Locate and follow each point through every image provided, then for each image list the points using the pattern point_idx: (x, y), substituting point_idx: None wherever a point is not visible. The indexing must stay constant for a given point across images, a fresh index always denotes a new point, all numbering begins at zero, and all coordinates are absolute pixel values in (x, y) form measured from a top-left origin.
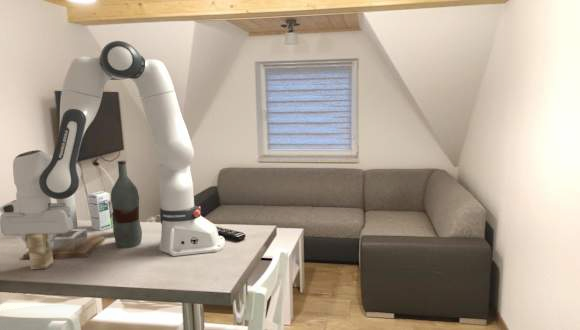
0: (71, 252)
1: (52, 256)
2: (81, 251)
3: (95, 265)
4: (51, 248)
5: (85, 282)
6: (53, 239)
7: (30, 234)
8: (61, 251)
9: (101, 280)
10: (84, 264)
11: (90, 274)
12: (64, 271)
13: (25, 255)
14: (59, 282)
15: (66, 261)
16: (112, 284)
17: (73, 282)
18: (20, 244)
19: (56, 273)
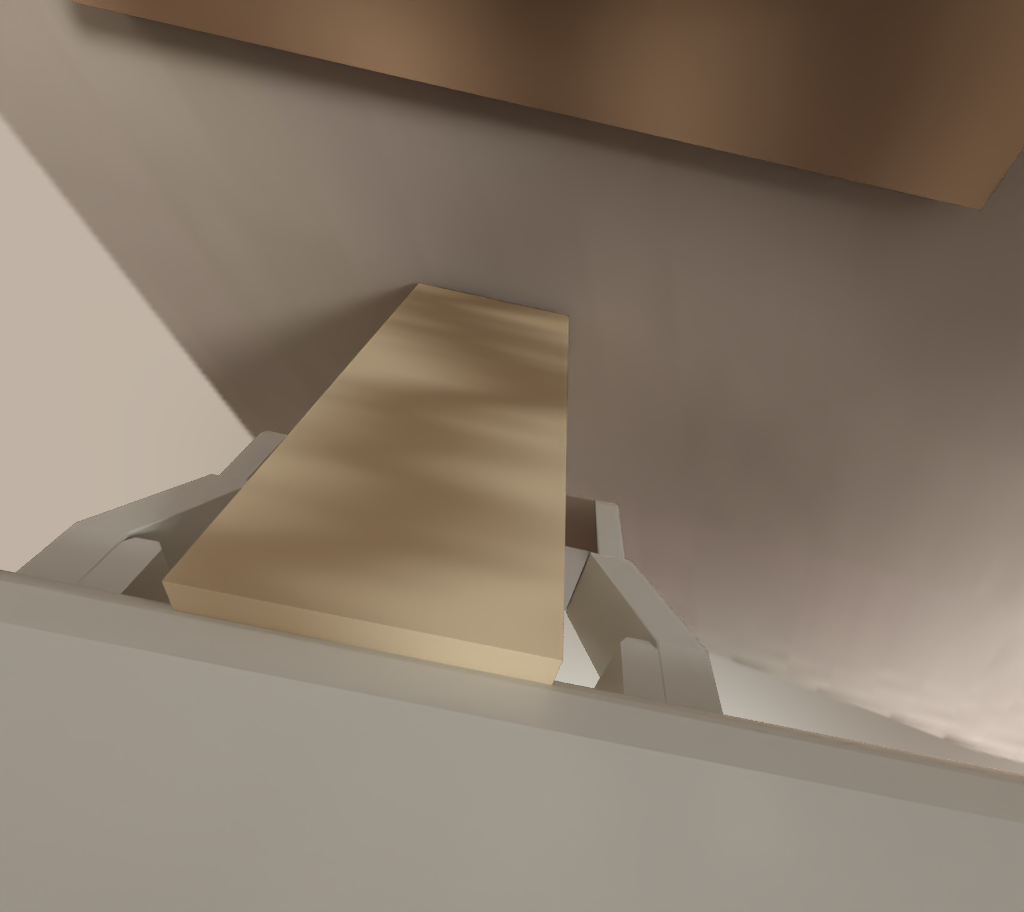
0: (786, 137)
1: (566, 348)
2: (940, 136)
3: (953, 480)
4: (565, 400)
5: (814, 677)
6: (638, 587)
7: None
8: (630, 15)
9: (907, 683)
10: (865, 430)
11: (866, 606)
12: (690, 515)
13: (115, 9)
14: None
15: (697, 291)
16: (946, 727)
17: (749, 660)
18: None
19: (635, 529)
